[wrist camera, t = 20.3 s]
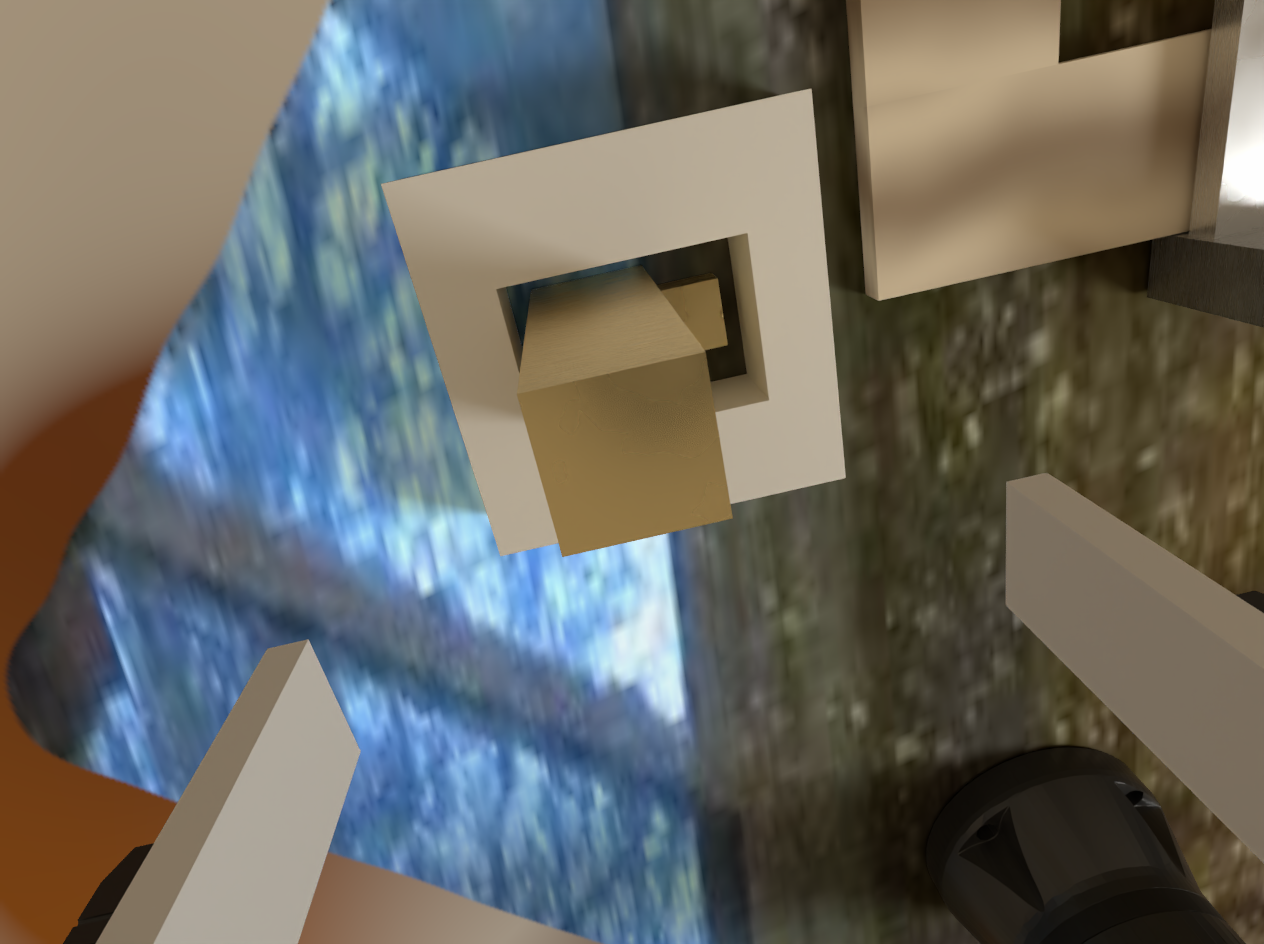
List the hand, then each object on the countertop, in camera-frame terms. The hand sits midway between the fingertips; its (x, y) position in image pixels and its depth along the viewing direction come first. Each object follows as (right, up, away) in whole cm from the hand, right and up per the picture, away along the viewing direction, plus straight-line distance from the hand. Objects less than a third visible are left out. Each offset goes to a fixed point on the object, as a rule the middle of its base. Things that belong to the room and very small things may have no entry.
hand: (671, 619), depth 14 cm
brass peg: (-1, +10, +20) cm, 22 cm away
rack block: (-1, +10, +20) cm, 22 cm away
